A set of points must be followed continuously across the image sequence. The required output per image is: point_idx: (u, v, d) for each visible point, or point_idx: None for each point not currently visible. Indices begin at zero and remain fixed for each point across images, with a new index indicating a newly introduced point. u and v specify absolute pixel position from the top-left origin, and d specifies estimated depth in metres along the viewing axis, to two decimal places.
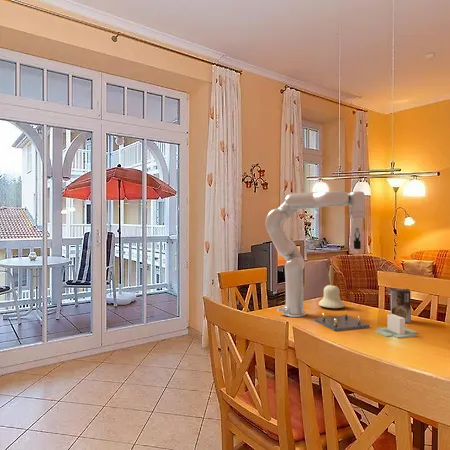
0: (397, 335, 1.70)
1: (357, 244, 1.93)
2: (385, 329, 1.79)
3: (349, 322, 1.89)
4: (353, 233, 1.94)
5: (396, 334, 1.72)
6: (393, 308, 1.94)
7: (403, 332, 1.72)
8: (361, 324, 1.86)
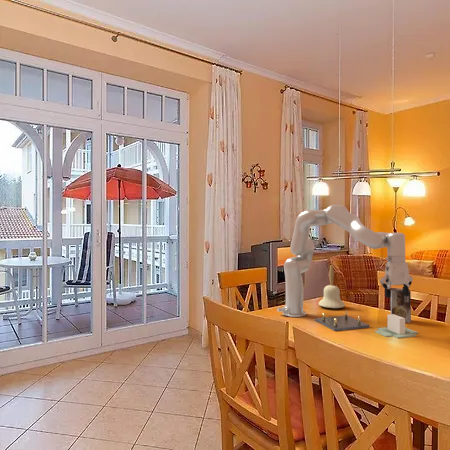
0: (397, 335, 1.70)
1: None
2: (385, 329, 1.79)
3: (349, 322, 1.89)
4: None
5: (396, 334, 1.72)
6: (393, 308, 1.94)
7: (403, 332, 1.72)
8: (361, 324, 1.86)
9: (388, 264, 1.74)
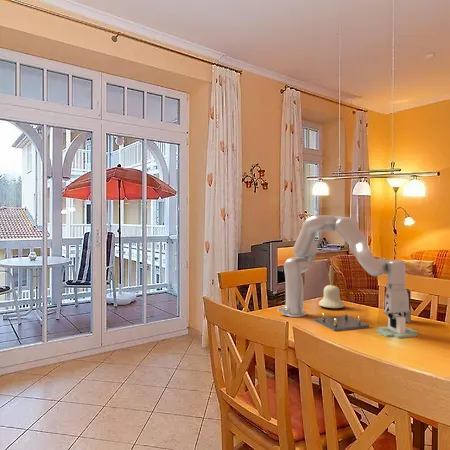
0: (397, 334, 1.70)
1: None
2: (385, 328, 1.79)
3: (349, 322, 1.89)
4: None
5: (396, 333, 1.71)
6: None
7: (403, 331, 1.72)
8: (361, 324, 1.86)
9: (388, 292, 1.74)
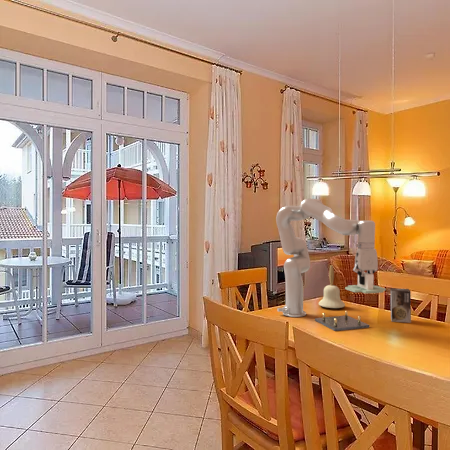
0: (365, 290, 1.78)
1: None
2: (355, 286, 1.87)
3: (349, 322, 1.89)
4: None
5: (364, 289, 1.79)
6: (393, 308, 1.94)
7: (371, 288, 1.80)
8: (361, 324, 1.86)
9: (358, 250, 1.81)
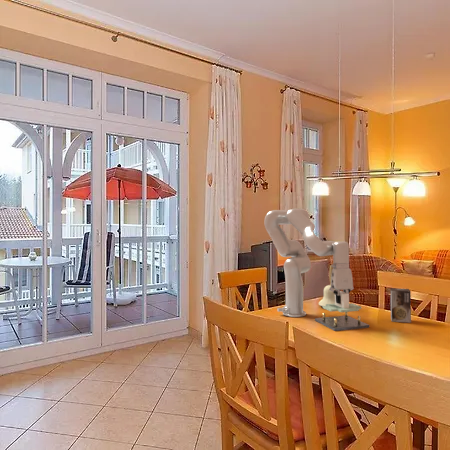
0: (341, 309, 1.85)
1: None
2: (332, 305, 1.94)
3: (349, 322, 1.89)
4: None
5: (340, 308, 1.86)
6: (393, 308, 1.94)
7: (347, 306, 1.87)
8: (361, 324, 1.86)
9: (333, 270, 1.89)
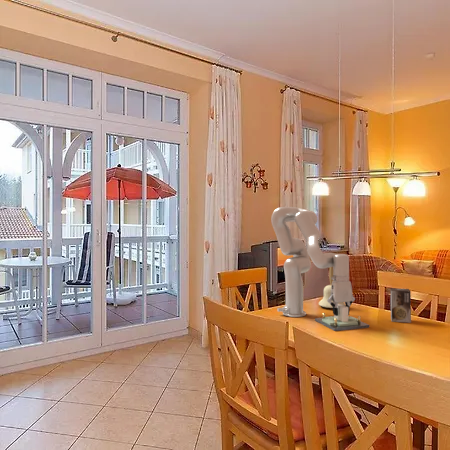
0: (340, 322, 1.85)
1: None
2: (332, 318, 1.94)
3: None
4: None
5: (340, 322, 1.86)
6: (393, 308, 1.94)
7: (346, 320, 1.87)
8: (361, 324, 1.86)
9: (333, 283, 1.89)
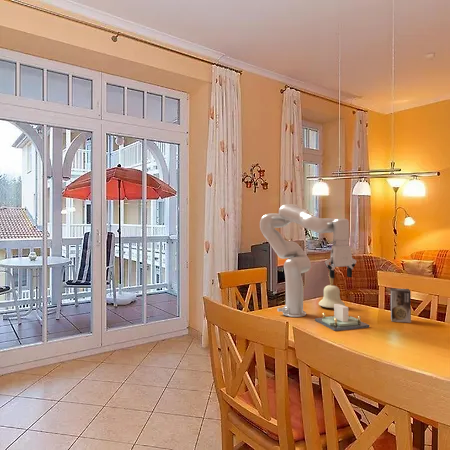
0: (340, 322, 1.85)
1: None
2: (332, 318, 1.94)
3: None
4: None
5: (340, 322, 1.86)
6: (393, 308, 1.94)
7: (346, 320, 1.87)
8: (361, 324, 1.86)
9: (333, 247, 1.89)
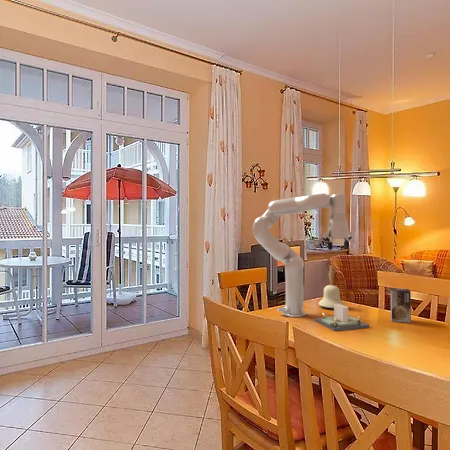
0: (340, 322, 1.85)
1: None
2: (332, 318, 1.94)
3: None
4: None
5: (340, 322, 1.86)
6: (393, 308, 1.94)
7: (346, 320, 1.87)
8: (361, 324, 1.86)
9: (330, 221, 2.01)
